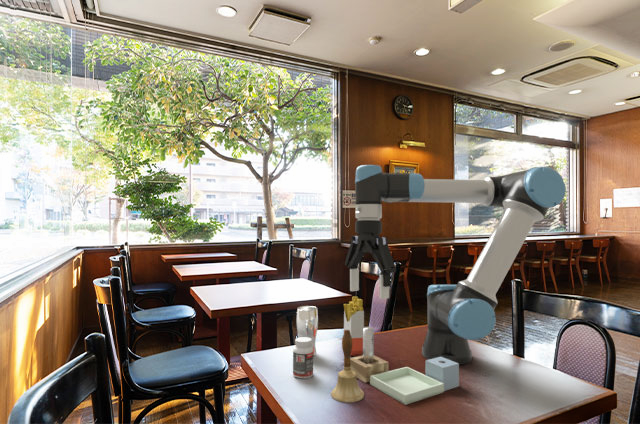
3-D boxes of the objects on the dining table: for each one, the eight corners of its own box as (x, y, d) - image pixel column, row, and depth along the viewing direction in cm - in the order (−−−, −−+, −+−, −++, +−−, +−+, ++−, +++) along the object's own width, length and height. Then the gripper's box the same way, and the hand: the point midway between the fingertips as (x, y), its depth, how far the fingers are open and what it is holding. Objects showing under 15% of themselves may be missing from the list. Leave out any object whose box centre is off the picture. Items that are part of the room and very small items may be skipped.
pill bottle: (310, 380, 103) (310, 343, 103) (290, 378, 104) (290, 341, 104) (315, 372, 108) (315, 337, 109) (295, 370, 110) (296, 335, 110)
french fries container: (350, 358, 119) (350, 301, 120) (342, 347, 130) (342, 295, 130) (364, 358, 120) (364, 300, 120) (355, 347, 131) (355, 294, 131)
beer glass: (291, 354, 123) (292, 308, 123) (307, 349, 128) (307, 304, 128) (307, 360, 118) (307, 311, 118) (322, 354, 123) (322, 308, 123)
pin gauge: (369, 371, 109) (369, 326, 109) (375, 375, 106) (375, 328, 107) (360, 373, 107) (360, 327, 108) (367, 377, 105) (367, 330, 105)
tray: (406, 374, 107) (406, 366, 107) (444, 392, 96) (443, 383, 96) (370, 384, 100) (370, 375, 100) (405, 404, 89) (405, 395, 89)
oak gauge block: (370, 367, 112) (370, 353, 112) (388, 376, 105) (388, 362, 105) (348, 372, 108) (348, 358, 108) (365, 382, 101) (365, 367, 101)
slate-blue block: (441, 378, 105) (441, 356, 105) (459, 386, 99) (458, 363, 100) (425, 383, 102) (425, 360, 102) (443, 391, 96) (442, 367, 97)
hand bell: (324, 396, 93) (324, 330, 94) (344, 385, 100) (344, 324, 100) (351, 406, 88) (351, 337, 89) (370, 394, 94) (370, 329, 95)
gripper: (333, 219, 117) (333, 289, 116) (387, 219, 95) (387, 303, 95) (353, 220, 121) (353, 286, 120) (409, 219, 99) (409, 300, 99)
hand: (368, 294), depth 107 cm, fingers open, 13 cm apart
